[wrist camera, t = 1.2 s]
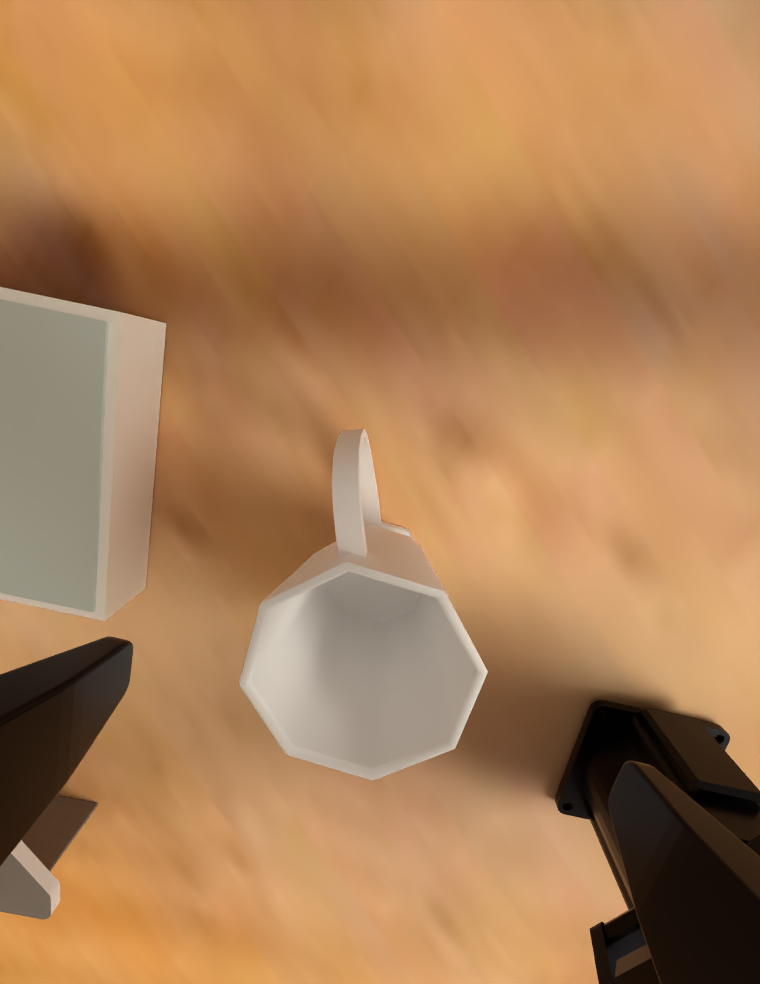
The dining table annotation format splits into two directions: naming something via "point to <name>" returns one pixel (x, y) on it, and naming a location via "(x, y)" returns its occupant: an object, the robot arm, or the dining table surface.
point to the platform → (41, 859)
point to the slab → (76, 452)
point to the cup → (362, 643)
